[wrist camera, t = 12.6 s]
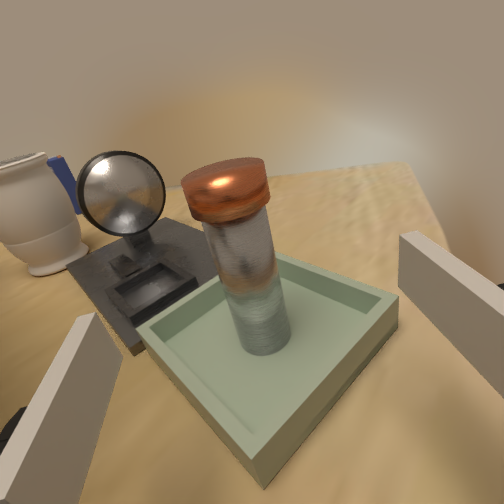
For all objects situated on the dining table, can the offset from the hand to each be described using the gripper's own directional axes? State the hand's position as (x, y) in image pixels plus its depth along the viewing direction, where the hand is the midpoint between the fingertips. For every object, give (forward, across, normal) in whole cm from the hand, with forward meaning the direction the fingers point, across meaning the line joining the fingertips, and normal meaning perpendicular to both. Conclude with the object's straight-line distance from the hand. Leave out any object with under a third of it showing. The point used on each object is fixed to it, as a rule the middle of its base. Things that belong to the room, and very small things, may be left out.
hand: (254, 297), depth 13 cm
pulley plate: (+23, -12, -10) cm, 28 cm away
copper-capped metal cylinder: (+7, 0, -9) cm, 11 cm away
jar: (+33, -28, -10) cm, 44 cm away
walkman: (+60, -35, -10) cm, 70 cm away
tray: (+7, 0, -10) cm, 12 cm away
